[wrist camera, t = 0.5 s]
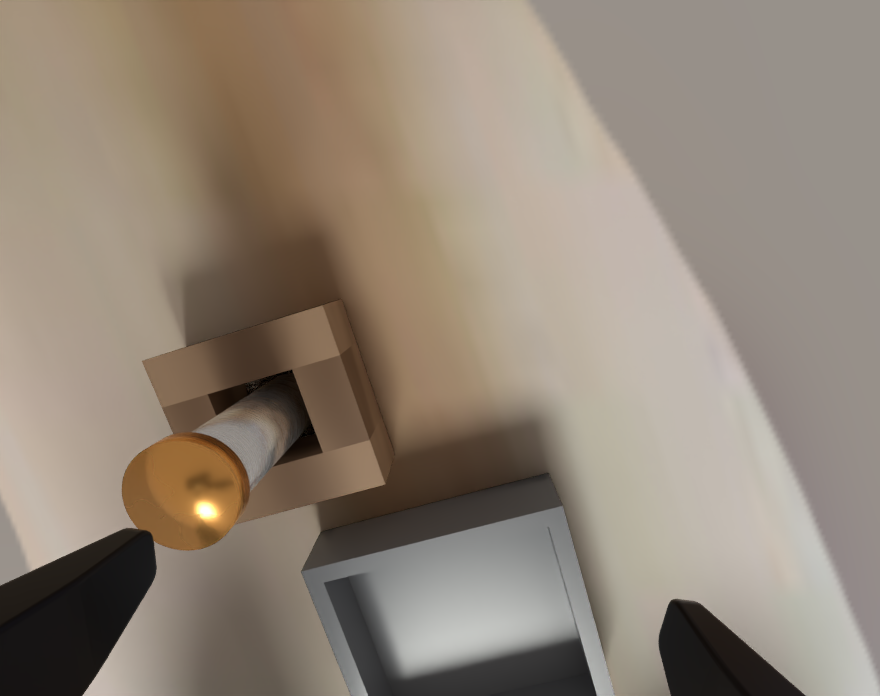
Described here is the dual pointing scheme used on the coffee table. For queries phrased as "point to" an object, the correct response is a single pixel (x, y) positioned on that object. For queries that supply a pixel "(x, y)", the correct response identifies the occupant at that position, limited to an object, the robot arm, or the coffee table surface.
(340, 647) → the tray
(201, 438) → the lock pin
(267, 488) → the block
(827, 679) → the coffee table surface
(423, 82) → the coffee table surface
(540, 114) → the coffee table surface
